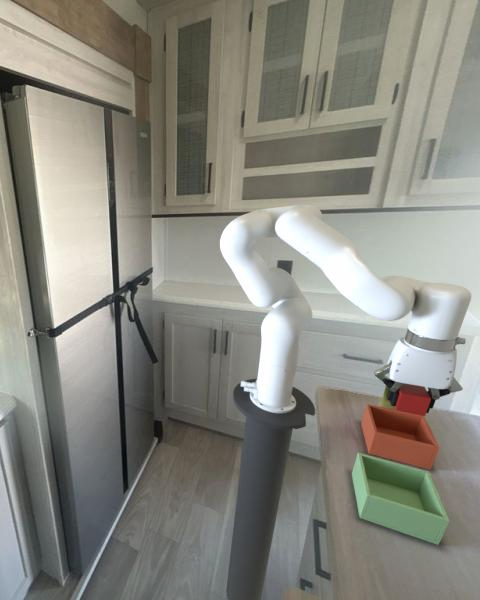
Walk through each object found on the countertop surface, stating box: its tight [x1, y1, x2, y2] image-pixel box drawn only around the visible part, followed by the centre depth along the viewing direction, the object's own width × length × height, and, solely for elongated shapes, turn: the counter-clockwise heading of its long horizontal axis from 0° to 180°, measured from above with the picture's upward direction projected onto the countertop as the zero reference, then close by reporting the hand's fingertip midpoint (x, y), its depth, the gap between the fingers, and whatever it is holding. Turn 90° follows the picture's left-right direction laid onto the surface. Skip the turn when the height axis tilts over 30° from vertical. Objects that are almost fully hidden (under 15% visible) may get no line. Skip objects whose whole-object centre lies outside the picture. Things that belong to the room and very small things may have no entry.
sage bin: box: [351, 452, 451, 546], centre depth 69 cm, size 12×12×7 cm
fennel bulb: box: [377, 385, 396, 410], centre depth 89 cm, size 6×5×12 cm
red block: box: [395, 383, 431, 417], centre depth 78 cm, size 5×5×5 cm
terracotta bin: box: [360, 403, 440, 471], centre depth 82 cm, size 11×11×7 cm
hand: (407, 405), depth 79 cm, fingers closed on red block, 5 cm apart
